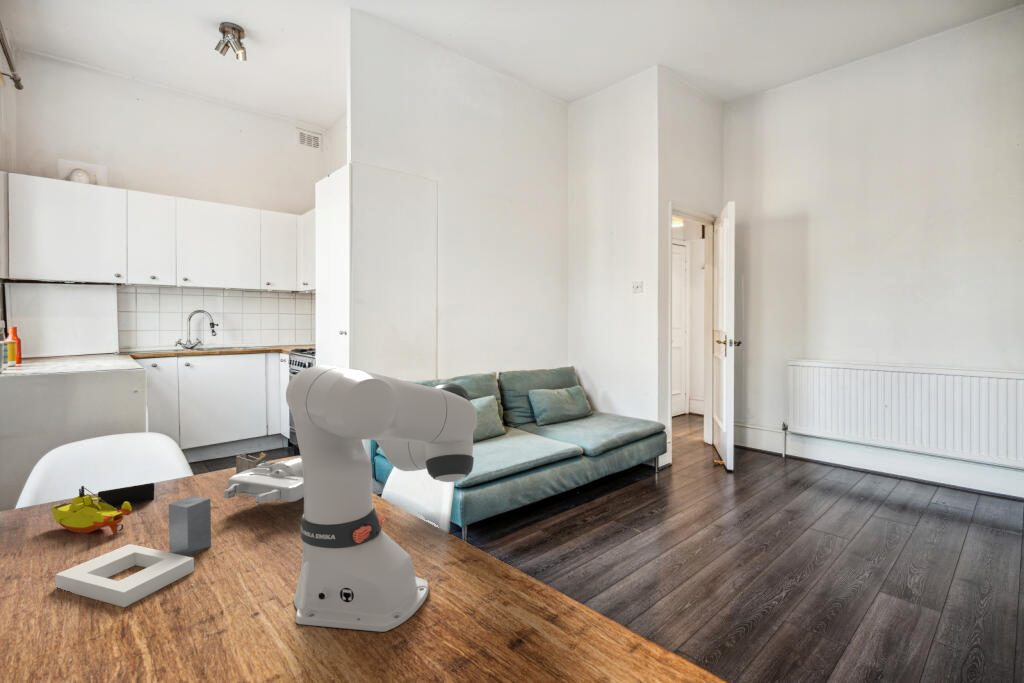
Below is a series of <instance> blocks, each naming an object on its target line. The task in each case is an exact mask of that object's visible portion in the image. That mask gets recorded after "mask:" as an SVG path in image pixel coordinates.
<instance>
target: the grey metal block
mask: <svg viewBox="0 0 1024 683" xmlns="http://www.w3.org/2000/svg"><path fill="white" fill-rule="evenodd" d="M211 505H212V504H211V498H208V497H203V496H197V495H191V496H188V497H185V498H182V499H179V500H176V501H173V502H171V503H169V504H168V526H169V527H168V528H169V530H168V531H169V532H168V534H169V538H168V542H169V553H173V554H178V555H183V556H187V557H192V556H194V555H196V554H198V553H200V552H203V551H204V550H206V549H208V548H210V547H212V524H211V523H212V522H211V521H212V517H211V516H212V515H211V514H212V512H211V507H212V506H211Z"/></svg>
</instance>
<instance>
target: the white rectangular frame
mask: <svg viewBox="0 0 1024 683" xmlns="http://www.w3.org/2000/svg"><path fill="white" fill-rule="evenodd" d="M134 566H138V567H142V568H144V569H141V570H139V571H137V572H134V573H133V574H130V575H128V576H126V577H125V578H122V579H120V580H116V579H112V578H110V577H112V576H114V575H117V574H119V573H121V572H123V571H125V570H127V569H130V568H132V567H134ZM194 572H195V558H194V557H192V556H190V557H187V556H183V555H178V554H173V553H170V551H169V552H168V551H164V550H158V549H156V548H154V549H153V548H150V547H145V546H141V545H136V544H132V543H128V544H126V545H124V546H122V547H119V548H116V549H114V550H112V551H109V552H106V553H104V554H102V555H99V556H97V557H94V558H92V559H90V560H88V561H85V562H82V563H80V564H76V565H75V566H72V567H70V568H68V569H65V570H63V571H59V572H57V573H55V588H56V587H58V588H61V589H64V590H66V591H65V592H67V591H70V592H69V593H71V592H72V594H75V595H79V596H82V597H86V598H89V599H93V600H96V601H100V602H103V603H108V604H111V605H114V606H118V607H121V608H126V607H128V606H130V605H132V604H134V603H135V602H138V601H140V600H142V599H144V598H145V597H147V596H149V595H151V594H153V593H155V592H157V591H159V590H160V589H162V588H164V587H167V586H168V585H170V584H172V583H174V582H176V581H178V580H179V579H182V578H183V577H186V576H187V575H189V574H191V573H194ZM64 590H63V591H64Z"/></svg>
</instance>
